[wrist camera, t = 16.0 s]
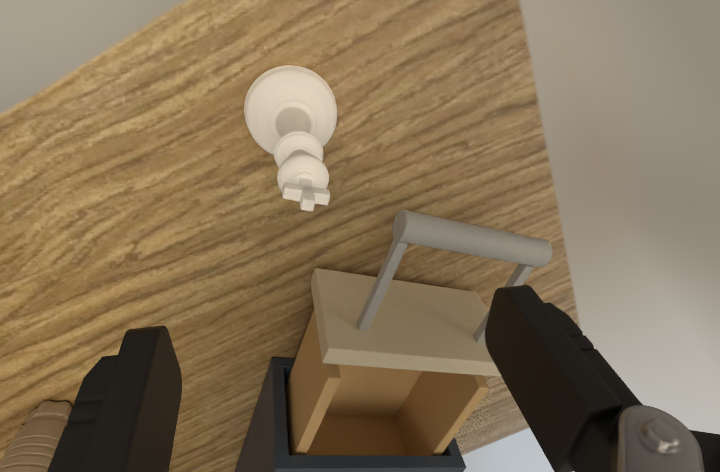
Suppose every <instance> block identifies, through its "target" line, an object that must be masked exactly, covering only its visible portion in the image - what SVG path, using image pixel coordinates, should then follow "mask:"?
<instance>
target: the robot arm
mask: <svg viewBox="0 0 720 472" xmlns="http://www.w3.org/2000/svg"><path fill="white" fill-rule="evenodd" d="M485 343H486V347H487V350H488V352H489V354H490V356H491V358H492V360H493V362H494V363H495V365H496V367H497V369H498V371H499V373H500V374H501V376H502V378H503V380H504V382H505V383H506V385H507V387H508V389H509V391H510V392H511V394H512V396H513V398H514V400H515V401H516V403H517V405H518V407H519V409H520V410H521V412H522V414H523V416H524V418H525V419H526V421H527V423H528V425H529V427H530V428H531V430H532V432H533V434H534V436H535V437H536V439H537V441H538V443H539V445H540V446H541V448H542V450H543V452H544V454H545V455H546V457H547V459H548V461H549V463H550V464H551V466H552V468H553V470H554V471H555V472H572V471H575V472H720V435H719V434H712V433H706V432H699V431H692V430H689V429H688V428H687V427H686V426H684V425H683V424H682V423H681V422H680V421H679V420H677V419H676V418H674V417H673V416H671V415H670V414H668V413H666V412H664V411H662V410H660V409H657V408H654V407H650V406H645V405H642V403H640V401H639V400H638V399H637V398H636V397H635V396H634V394H633V393H632V392H631V391H630V389H629V388H628V387H627V386H626V384H625V383H624V382H623V381H622V380H621V378H620V377H619V376H618V375H617V373H615V371H614V370H613V369H612V368H611V366H610V365H609V364H608V363H607V361H606V360H605V359H604V358H603V357H602V355H601V354H600V353H599V352H598V351H597V350H596V349H594V347H593V344H592V343H591V342H590V341H589V340H588V338H587V337H586V336H583V334H582V331H581V330H580V329H579V327H578V326H577V325H576V324H575V322H574V321H573V320H572V319H571V318H570V316H569V315H567V314H566V313H564V312H563V311H561V310H560V309H559V308H557V307H556V306H554V305H553V304H551V303H543V301H542V300H541V299H540V298H539V296H538V295H537V294H536V292H535V291H534V290H533V289H532V288H531V287H530V286H528V285H520V286H511V287H502V288H498V289H497V290H496V291H495V293H494V297H493V300H492V304H491V308H490V312H489V316H488V320H487V323H486V327H485ZM181 393H182V378H181V371H180V367H179V364H178V360H177V357H176V354H175V351H174V348H173V345H172V342H171V338H170V335H169V332H168V329H167V328H166V326H155V327H146V328H137V329H129V330H128V331H127V332H126V333H125V336H124V339H123V341H122V344H121V347H120V350H119V353H118V355H113V356H105V357H102V358H101V359H100V360H99V361H98V363H97V364H96V365H95V366H94V367H93V368H92V369H91V371H90V372H89V373H88V374H87V375H86V376H85V377H84V379H83V382H82V384H81V387H80V390H79V392H78V395H77V397H76V400H75V406H73V407H72V410H71V412H70V415H69V417H68V420H67V422H68V423H67V425H66V426H65V427H64V430H63V432H62V435H61V437H60V440H59V442H58V445H57V447H56V450H55V452H54V455H53V457H52V460H51V462H50V465H49V467H48V470H47V472H168V471H169V465H170V459H171V454H172V448H173V442H174V436H175V430H176V424H177V418H178V412H179V406H180V400H181Z"/></svg>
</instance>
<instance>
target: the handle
mask: <svg viewBox="0 0 720 472" xmlns="http://www.w3.org/2000/svg"><path fill="white" fill-rule="evenodd" d="M71 410H72V407H71V406H70V403H69V402H66V401H63V402H53V401H49V400H48V401H44V402H42V403H41V404H40V405H39V407H38V408H36V409H33V410H32V411H31V412H30V413H29V415H28V416H27V417H26V419H25V421H24V422H23V424H22V427H21V429H20V430H19V431H18V433H17V434H16V436H15V437H14V439H13V440H12V442H11V443H10V445H9V447H8V448H7V450H6V452H5V454H4V456H3V457H2V459H1V461H0V472H47V470H48V467H49V465H50V462H51V460H52V457H53V455H54V452H55V450H56V447H57V445H58V442H59V440H60V437H61V435H62V432H63V430H64V427H65V426H66V425H67V423H68V422H67V420H68V417H69V415H70V412H71Z"/></svg>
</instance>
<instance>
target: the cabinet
mask: <svg viewBox="0 0 720 472" xmlns="http://www.w3.org/2000/svg"><path fill="white" fill-rule="evenodd" d="M294 362H295V359H291V358H279V357H272V359H271V362H270V365H269V368H268V371H267V374H266V377H265V380H264V383H263V386H262V389H261V392H260V395H259V398H258V401H257V404H256V407H255V410H254V414H253V417H252V420H251V423H250V426H249V429H248V432H247V435H246V438H245V441H244V444H243V447H242V450H241V453H240V456H239V459H238V462H237V465H236V468H235V472H463V471H464V470H465V468H466V466H465V463H464V461H463V458H462V456H461V453H460V451H459V448H458V445H457V443H456V440H455V438H453V439H452V440H451V442H450V443H449V445H448V446H447V447H446V449H445V450H444V451H443V453H442V454H441V456H348V455H289V452H288V434H287V416H286V398H285V386H286V384H287V381H288V378H289V376H290V373H291V370H292V368H293V365H294Z"/></svg>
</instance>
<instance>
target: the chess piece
mask: <svg viewBox="0 0 720 472" xmlns="http://www.w3.org/2000/svg"><path fill="white" fill-rule="evenodd" d="M244 115H245V120H246V124H247V127H248V129H249V132H250V134H251V135H252V137H253V139H254V140H255V141H256V142H257V144H258V145H259V146H260V147H262V148H263V149H264V150H265V151H267V152H269V153H270V154H273V155H274V159H275V162H276V164H277V166H278V167H279V171H278V175H277V182H278V186H279V188H280V190H281V192H282V198H284V199H290V200H294V201H298V202H300V208H301V210H306V211H313V209H314V205H315V204H322V205H328V202H329V199H330V192H329V190H327V189H326V188H327V186H328V182H329V174H328V170H327V168H326V166H325V165H324V163H323V162H322V160H323V147H324V146H325V145H326V144H327V142H328V141H329V140H330V138H331V136H332V135H333V132H334V130H335V127H336V122H337V105H336V100H335V97H334V94H333V92H332V90H331V88H330V87H329V85H328V84H327V83H326V82H325V80H324V79H323V78H321V77H320V76H319V75H318V74H316V73H315V72H313V71H311V70H309V69H307V68H304V67H300V66H295V65H284V66H278V67H275V68H272V69H270V70H268V71H266V72H264V73H263V74H261V75H260V76H259V77H258V78H257V79H256V80H255V81H254V82H253V84H252V85H251V87H250V88H249V90H248V93H247V95H246V99H245V104H244Z"/></svg>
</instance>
